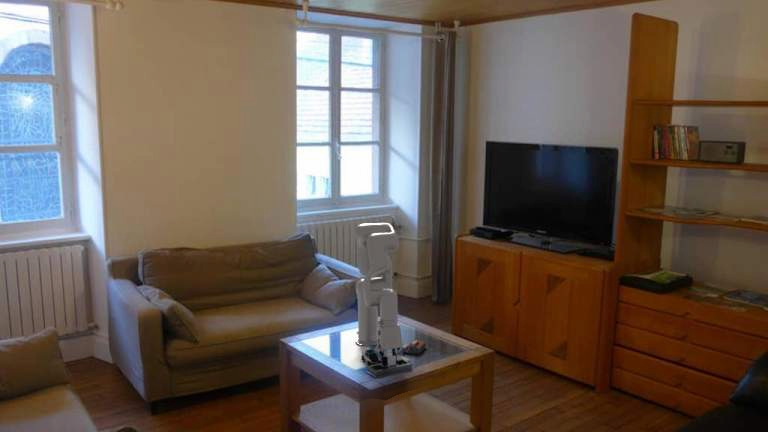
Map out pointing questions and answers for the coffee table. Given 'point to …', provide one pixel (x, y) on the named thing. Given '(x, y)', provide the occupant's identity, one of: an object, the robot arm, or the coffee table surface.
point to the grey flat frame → (382, 370)
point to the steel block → (390, 360)
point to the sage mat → (403, 358)
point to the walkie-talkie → (413, 347)
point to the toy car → (370, 357)
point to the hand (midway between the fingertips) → (389, 363)
